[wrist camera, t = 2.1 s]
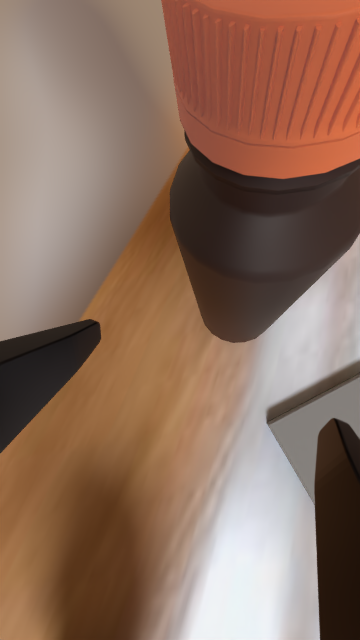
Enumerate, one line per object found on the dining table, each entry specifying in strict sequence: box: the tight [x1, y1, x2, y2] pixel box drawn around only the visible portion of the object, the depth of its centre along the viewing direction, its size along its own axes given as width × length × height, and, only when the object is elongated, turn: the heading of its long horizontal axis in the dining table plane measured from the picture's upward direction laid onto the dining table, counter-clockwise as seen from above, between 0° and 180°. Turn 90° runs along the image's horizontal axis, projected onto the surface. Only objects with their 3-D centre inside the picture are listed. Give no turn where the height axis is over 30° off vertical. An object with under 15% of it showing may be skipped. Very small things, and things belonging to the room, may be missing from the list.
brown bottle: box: [161, 0, 360, 343], centre depth 13 cm, size 7×7×20 cm
